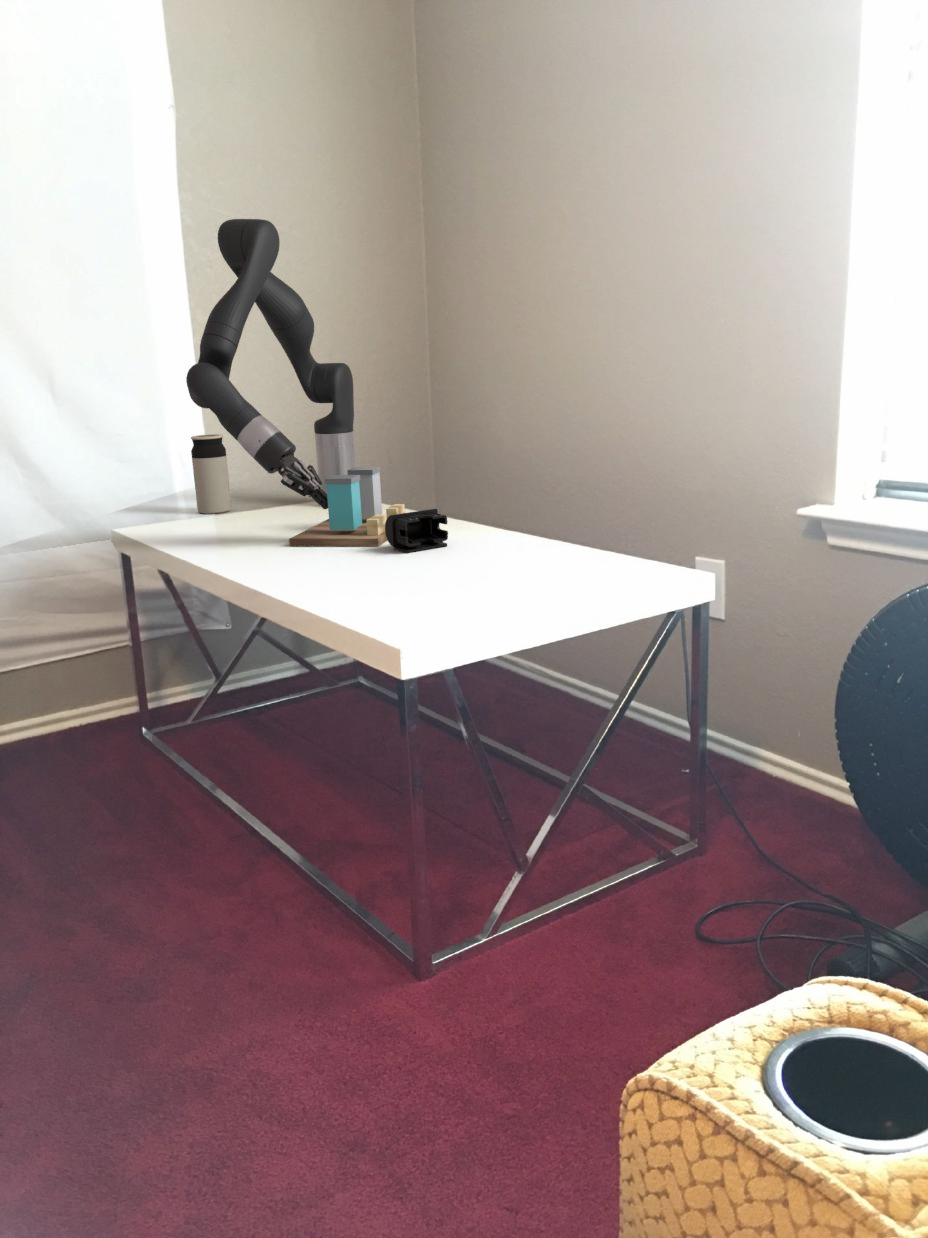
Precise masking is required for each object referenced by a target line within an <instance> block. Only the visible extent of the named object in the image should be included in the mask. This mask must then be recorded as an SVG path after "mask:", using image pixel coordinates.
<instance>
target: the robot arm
mask: <svg viewBox="0 0 928 1238" xmlns="http://www.w3.org/2000/svg"><path fill="white" fill-rule="evenodd" d="M217 242H218V243H217V244H218V248H219V251H220V253H221V255H222V258H223V259H224V261H225V263H226V264H227V266H228V267H229V268H230V269H231V271H232V273H234V274H235V277H237V279H236V281H235V282H234V283H233V284H232V286H231V287H230V288H229V289H228V290H227V291H226V292H225V294H223V296H221V298H220V299H219V300H218V302H216V304H215V305H214V307H213V308H212V310H211V311H210V313H209V316H208V317H207V320H206V323H205V326H204V330H203V332H202V336H201V339H200V345H199V357H198V359H197V360H198V362H197V363H195V364H193V365H192V366H191V367H190V368H189V369H188V371H187V374H186V379H185V380H186V385H187V386H186V387H187V390H188V394H189V397H190V399H191V400H192V402H193V403H194V404H195V405H196V406H198V407H199V408H202V409H209V410H210V412H212V413H213V414H214V415H215V416H216V418H217V420H218V422H219V423H220V424H221V426H222V427H223V428H224V429H225V431H226V432H227V433H229V434H230V435H231V436H232V437H233V439H235V441H237V442H238V443H239V445H240V446H241V447H242V449H243V450H244V451H245V452H246V453H247V454H248V455H250V457H252V458H253V459H254V461H256V462H257V464H259V465H260V466H261V468H263V469H264V470H265V471H266V472H267V473H268V474H272V475H273V474H275V473H276V472H278V474H279V475H280V476H281V478H282V479H280V483H281V484H282V485H284V486H285V487H286V488H288V489H290V490H292V491H294V492H296V493H297V494H299V495H301V496H303V497H305V498H306V496H307V497H308V498H312V499H313V501H315V503H317V504H318V505H319V506H320V507H321V508H322V510H328V499H327V486H326V484H325V479H326V478H328V477H331V476H333V475H348V472H347V470H349V469H352V468H354V467H357V462H356V461H357V460H356V450H355V449H356V448H355V434H354V420H355V408H354V407H355V406H354V403H355V402H354V398H355V397H354V379H353V378H354V377H353V374H352V373H353V372H352V370H351V368H350V366H349V365H348V364H346V363H344V362H327V363H326V362H324V363H322V362H321V363H319V362H317V361H316V360H315V358H314V356H313V354H312V353H311V347H312V342H313V338H314V334H315V322H314V319H313V316H312V314H311V313H310V311H309V308H308V307H307V306H306V303H305V302H304V299H303V298H302V297H301V296H300V294H298V292H297V291H295V290H294V289H293V288H292V287H291V286H290V285H288V284H287V283H286V282H285V281H283V280H281V278H279V277H277V276H276V275H275V274H274V273H273V272H271V271H272V270H273V268H274V266H275V264H276V260H277V258H278V255H279V252H280V246H281V245H280V242H281V241H280V236H279V232H278V230H277V228H276V226H275V225H274V224H273V222H271V221H270V220H267V219H260V218H233V219H231V218H230V219H227V220H225V221H224V222H222V223H221V224H220V226H219V228H218V231H217ZM254 305H256V306H257V307H258V309H259V310H260V312H261V314H262V316H263V318H264V319H265V321H266V323H267V325H268V326H269V329H270V330H271V332H272V333H273V335H274V336H275V338H276V340H277V341H278V343H279V344H280V346H281V347H282V349H283V351H284V353H285V355H286V356H287V358H288V361H290V364H291V365H292V368H293V370H294V372H295V374H296V377H297V379H298V381H299V384H300V386H301V388H302V390H303V392H304V394H305V396H306V397H307V399H309V400H310V401H311V402H312V403H316V404H332V409H331V412H329V413H328V414H327V415H326V416H323V417H321V418H319V419H316V420H315V421H314V423H313V429H314V441H315V442H314V443H315V451H316V453H315V454H316V465H317V466H316V467H317V471H316V469H315V467H314V466H313V465H311V464H309V465H308V466H306V464H305V463H304V462H303V461H302V459H301V460H300V459H298V458H297V457H296V456H295V453H296V450H297V448H296V447H297V446H296V445H295V444H294V443H293V442H292V441H291V440H290V439H289V438H288V437H287V436H286V435H285V434H284V433H283V432H282V431H281V430H279V428H278V427H277V426H276V425H274V424H273V423H272V422H271V421H270V420H269V419H267V418H266V417H265V416H263V415H262V414H261V413H260V412H259V411H258V409H256V407H254V406H253V405H252V404H251V403H250V402H249V401H247V400H246V398H245V397H243V395H241V393H240V392H239V390H238V389H237V388H236V387H235V385H234V384H233V383H232V382H231V380H230V376H231V370H232V365H233V361H234V358H235V356H236V353H237V351H238V347H239V344H240V341H241V337H242V334H243V330H244V328H245V324H246V321H247V320H248V318H249V316H250V313H251V311H252V308H253V306H254Z"/></svg>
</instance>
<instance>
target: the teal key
mask: <svg viewBox="0 0 928 1238" xmlns="http://www.w3.org/2000/svg"><path fill="white" fill-rule="evenodd" d="M359 480H360V475H333V476H331V477H328V478H326V479H325V484H326V486H327V499H328V508H327V510H328V519H329V525H330V530H355V529H356V528H358V527H360V526H362V515H361V501H360V487H359Z"/></svg>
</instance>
